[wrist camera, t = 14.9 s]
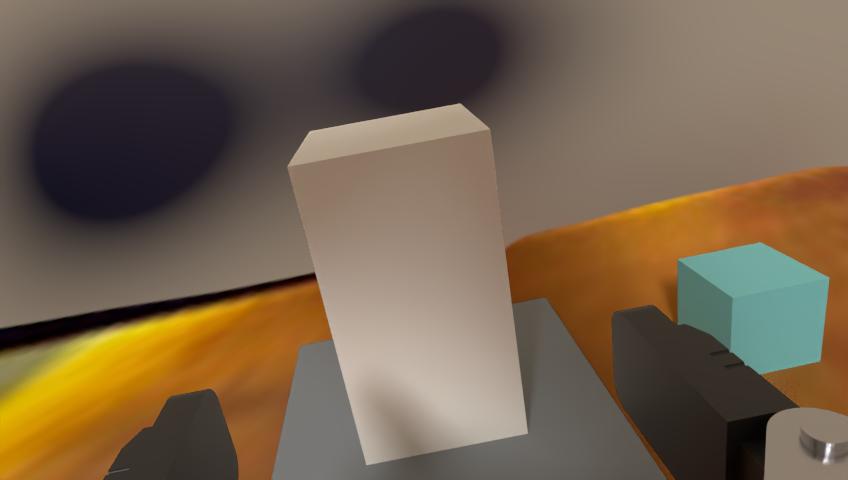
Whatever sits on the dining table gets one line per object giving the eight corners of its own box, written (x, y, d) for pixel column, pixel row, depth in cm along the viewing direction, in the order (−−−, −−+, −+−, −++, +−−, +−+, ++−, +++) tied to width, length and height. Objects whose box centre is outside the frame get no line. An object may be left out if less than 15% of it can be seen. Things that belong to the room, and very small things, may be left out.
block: (820, 362, 23) (829, 277, 22) (729, 382, 23) (732, 298, 22) (756, 317, 27) (760, 242, 26) (677, 334, 27) (677, 259, 25)
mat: (254, 584, 18) (250, 575, 18) (301, 351, 31) (300, 345, 31) (672, 496, 18) (672, 487, 18) (546, 303, 31) (545, 297, 31)
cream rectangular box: (528, 433, 22) (489, 129, 17) (366, 465, 22) (287, 166, 17) (494, 346, 28) (460, 103, 23) (368, 370, 27) (309, 131, 23)
